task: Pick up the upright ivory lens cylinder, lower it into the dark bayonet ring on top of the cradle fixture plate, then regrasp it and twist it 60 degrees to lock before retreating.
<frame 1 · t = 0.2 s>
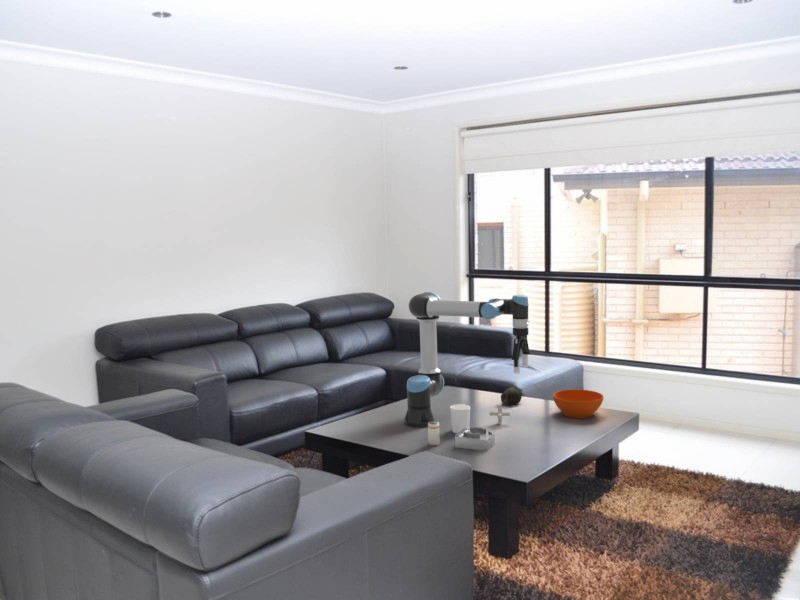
hand: (520, 370, 351), 28 cm above the table, fingers open, 13 cm apart
candle holder: (460, 431, 349), on the table
cradle fixture plate: (475, 445, 327), on the table
bowl: (578, 414, 372), on the table
rock: (511, 404, 396), on the table
lens: (434, 444, 331), on the table
pipe connector: (500, 424, 359), on the table
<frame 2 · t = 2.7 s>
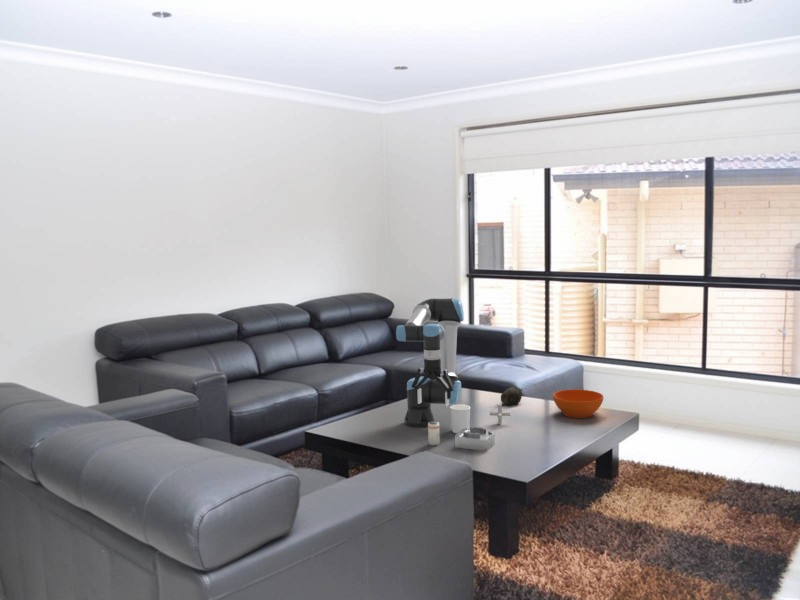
hand: (433, 404, 328), 19 cm above the table, fingers open, 13 cm apart
nothing on the table moved.
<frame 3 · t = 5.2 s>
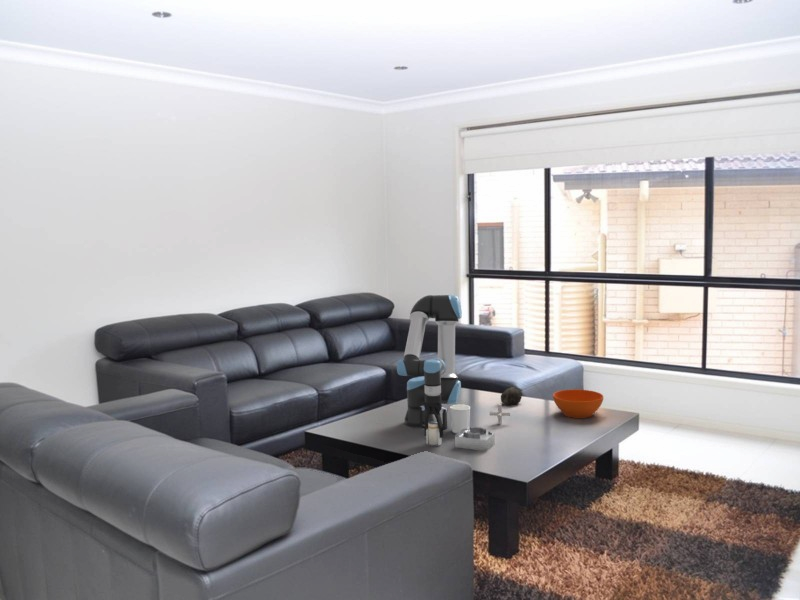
hand: (434, 443, 331), 0 cm above the table, fingers closed on lens, 5 cm apart
lens: (434, 444, 331), on the table, touching gripper
everything else where it was.
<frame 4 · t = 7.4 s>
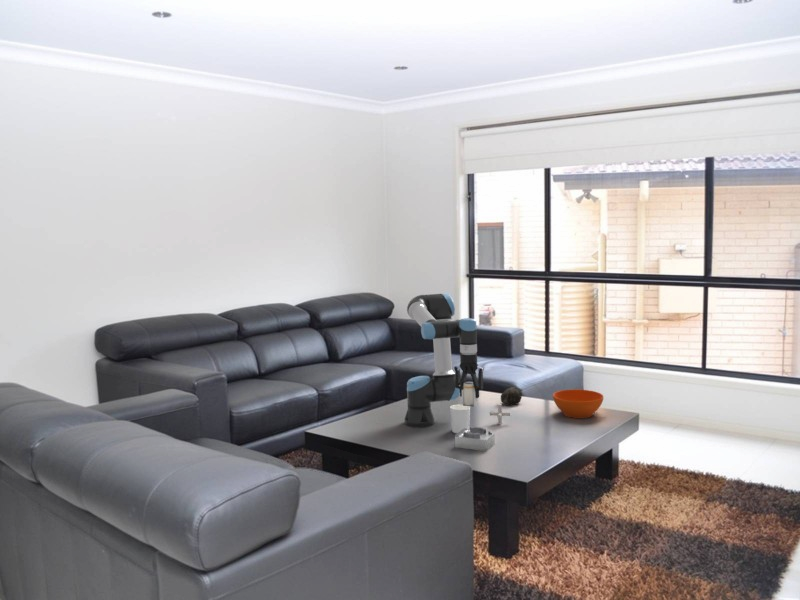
hand: (469, 404, 325), 19 cm above the table, fingers closed on lens, 5 cm apart
lens: (469, 404, 325), point 19 cm above the table, touching gripper
everything else where it was.
when the fingers open (7 cm above the table, at t = 10.1 s): lens drops 1 cm, resting on cradle fixture plate.
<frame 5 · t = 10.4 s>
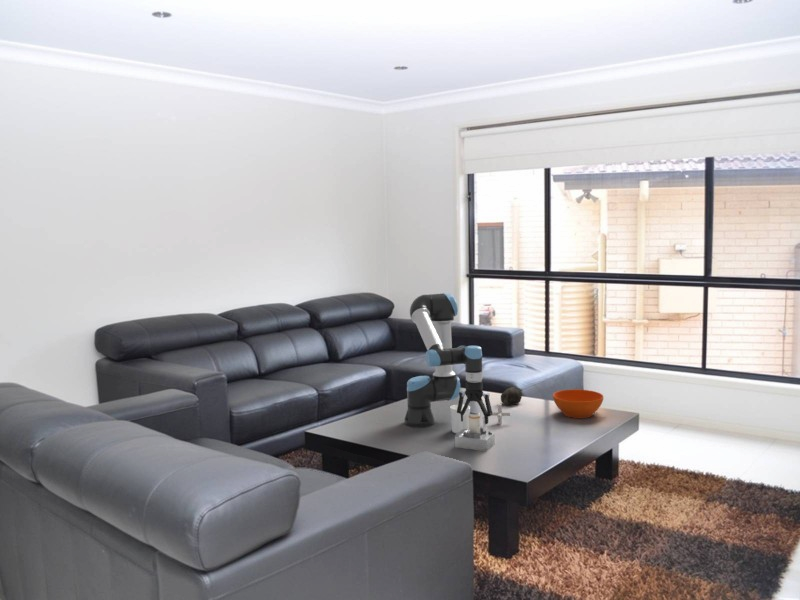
hand: (474, 429, 326), 7 cm above the table, fingers open, 9 cm apart
lens: (474, 434, 327), point 5 cm above the table, touching cradle fixture plate
everything else where it was.
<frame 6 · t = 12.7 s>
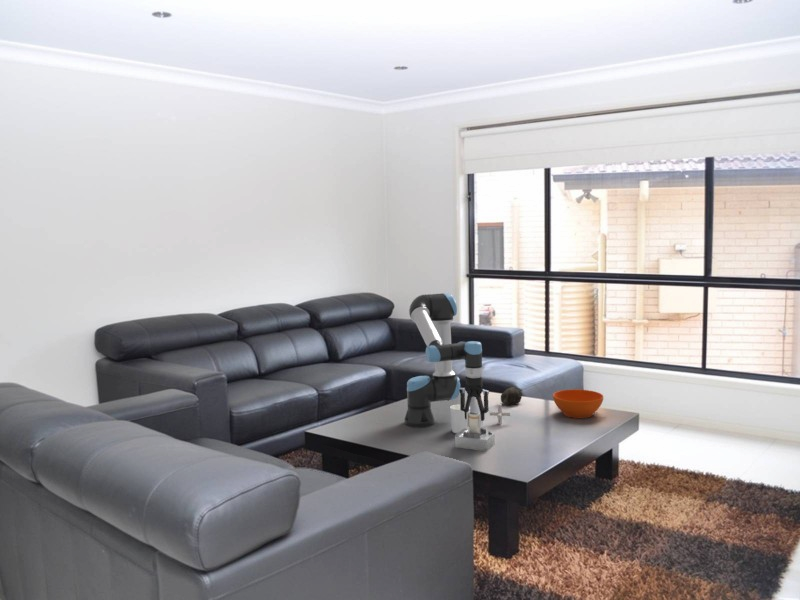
hand: (474, 426, 326), 9 cm above the table, fingers closed on lens, 5 cm apart
lens: (474, 434, 327), point 5 cm above the table, touching cradle fixture plate, gripper
everything else where it was.
when the fingers open (9 cm above the table, at t = 13.4 s): lens stays where it is, resting on cradle fixture plate.
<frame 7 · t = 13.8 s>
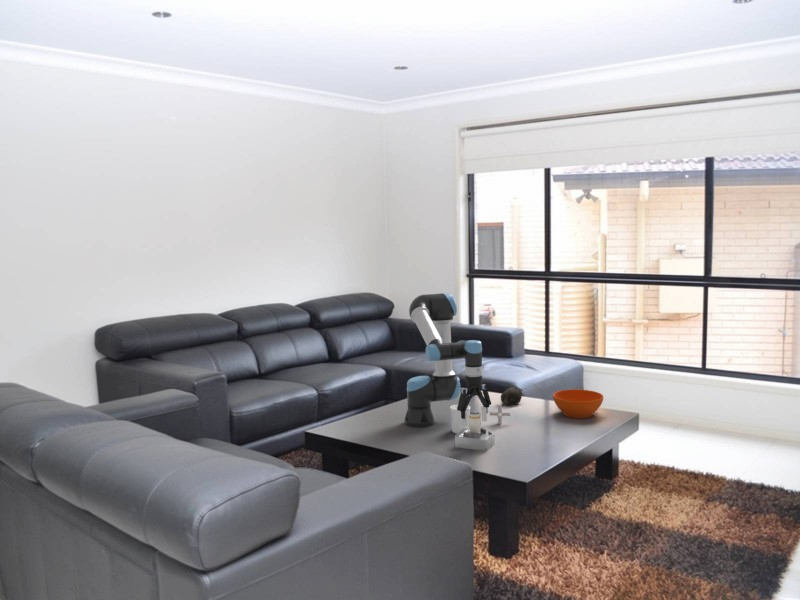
hand: (474, 423, 326), 10 cm above the table, fingers open, 10 cm apart
lens: (475, 434, 327), point 5 cm above the table, touching cradle fixture plate
everything else where it was.
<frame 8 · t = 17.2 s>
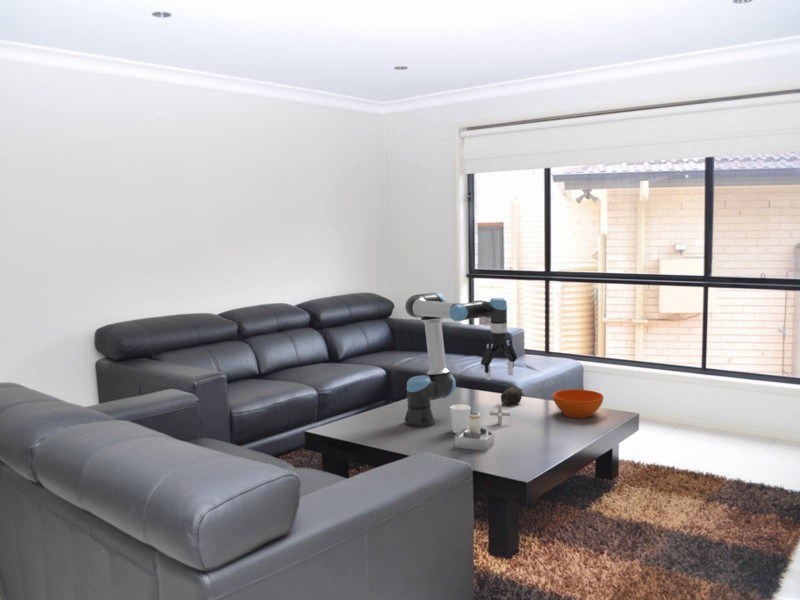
hand: (499, 377, 334), 29 cm above the table, fingers open, 13 cm apart
nothing on the table moved.
at the end: lens 0.0 cm off-centre on the cradle fixture plate, point 5.0 cm above the cradle fixture plate's base; lens tilted 0°; the gripper is holding nothing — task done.
